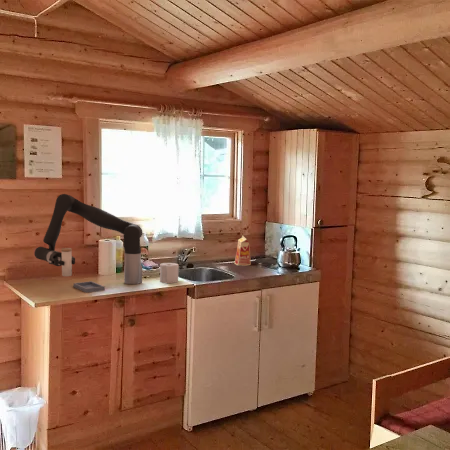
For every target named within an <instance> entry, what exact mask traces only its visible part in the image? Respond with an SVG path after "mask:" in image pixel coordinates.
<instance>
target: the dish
mask: <svg viewBox="0 0 450 450" xmlns="http://www.w3.org/2000/svg"><path fill="white" fill-rule="evenodd" d="M105 287H106V286H104V285H102V284H100V283H97V282H95V281H91V280H90V281H83V282H73V288H75V289H77V290H79V291H81V292H84V293H95V292H101V291H105Z"/></svg>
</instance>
